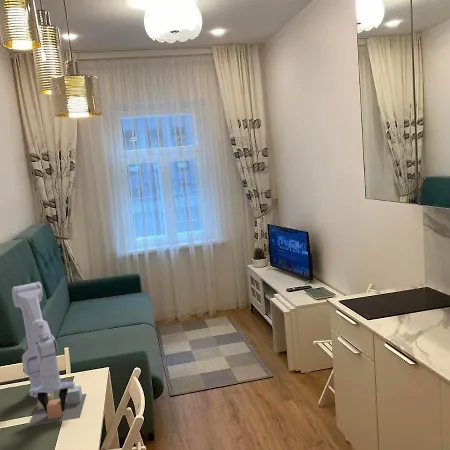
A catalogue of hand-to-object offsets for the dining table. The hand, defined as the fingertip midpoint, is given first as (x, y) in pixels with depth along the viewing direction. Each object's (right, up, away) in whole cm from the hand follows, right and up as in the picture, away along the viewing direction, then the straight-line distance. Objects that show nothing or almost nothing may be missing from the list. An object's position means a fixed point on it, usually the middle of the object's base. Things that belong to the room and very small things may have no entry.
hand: (55, 411), depth 165 cm
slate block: (+4, 0, +9) cm, 10 cm away
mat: (0, -1, +4) cm, 4 cm away
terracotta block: (0, -1, 0) cm, 1 cm away
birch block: (-6, -1, +8) cm, 10 cm away
